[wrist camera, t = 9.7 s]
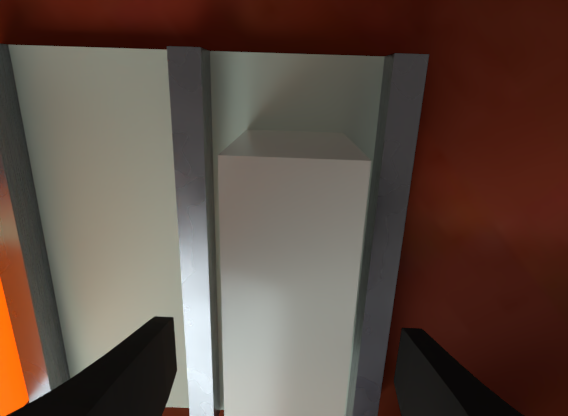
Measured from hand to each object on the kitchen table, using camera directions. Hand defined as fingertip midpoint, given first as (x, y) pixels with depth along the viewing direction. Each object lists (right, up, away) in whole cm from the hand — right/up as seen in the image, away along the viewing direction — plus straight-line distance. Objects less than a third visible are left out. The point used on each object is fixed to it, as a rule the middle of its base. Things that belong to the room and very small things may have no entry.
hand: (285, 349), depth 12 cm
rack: (-4, +2, +7) cm, 8 cm away
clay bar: (0, +2, +6) cm, 6 cm away
